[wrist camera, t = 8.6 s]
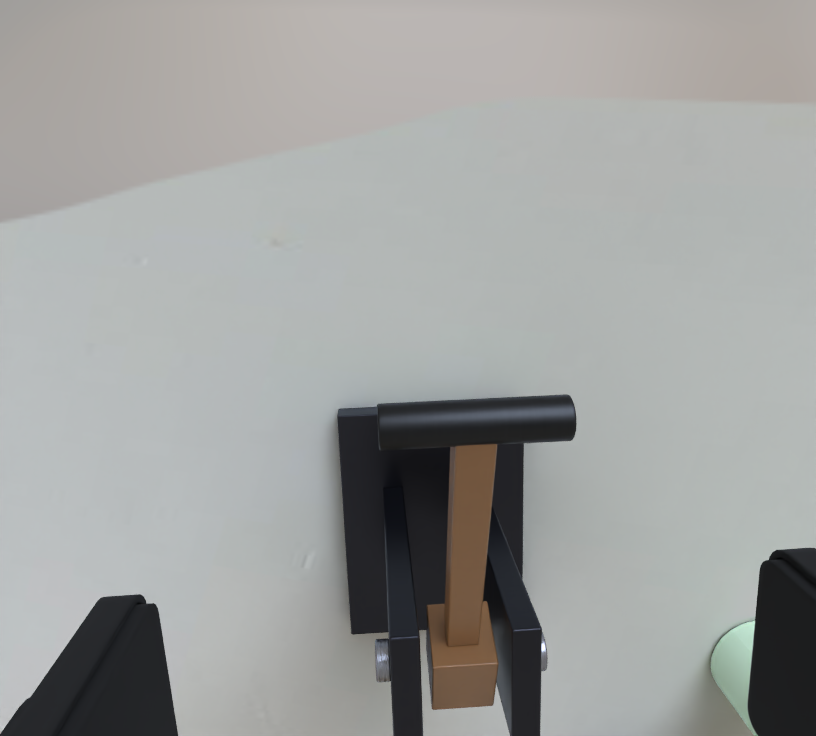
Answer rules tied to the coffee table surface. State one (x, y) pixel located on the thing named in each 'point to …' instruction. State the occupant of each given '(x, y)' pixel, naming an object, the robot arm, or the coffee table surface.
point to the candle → (735, 667)
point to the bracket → (432, 567)
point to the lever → (469, 522)
